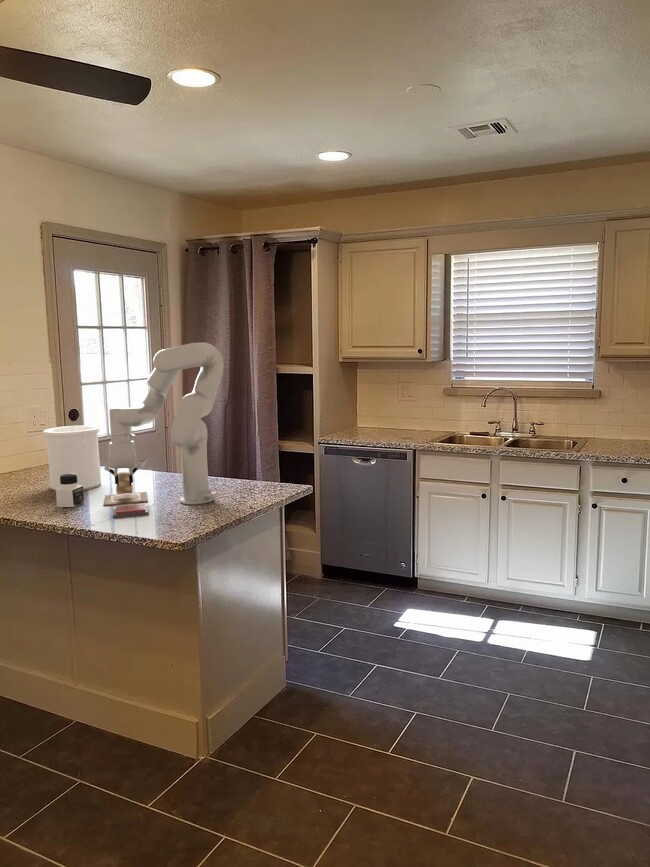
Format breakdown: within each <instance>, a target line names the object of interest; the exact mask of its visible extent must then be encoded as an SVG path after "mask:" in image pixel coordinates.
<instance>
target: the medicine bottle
mask: <svg viewBox="0 0 650 867" xmlns="http://www.w3.org/2000/svg"><path fill="white" fill-rule="evenodd" d="M60 484H61V486H62V487H60V488H57V489H56V491H55V496H56V507H57V508H63V507H75V508H76V506H77V507H78V505H79V506H81V505H84V504H85V497H84V490H83V486H82V485H77V484H78V482H77V475H76V474H63V475H61V476H60ZM80 504H81V505H80Z"/></svg>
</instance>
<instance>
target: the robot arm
mask: <svg viewBox="0 0 650 867" xmlns="http://www.w3.org/2000/svg"><path fill="white" fill-rule="evenodd" d="M153 367H154V369H153V370H152V372H151V373H150V375H149V377H148V378H147V381H146V382H147V385H148V387H149V390H148V393H147V395H146V397H145V398H144V400H143V402H142V403H141V404H140V405H136V406H133V407H132V406H131V407H129V406H123V405H118V406H112V407H110V408H109V412H108V413H109V425H110V442H109V444H108V461H107V463H106V464H105V466H104V470H105V471H107V472H109V474H111V475H112V476H114V484H115V485H116V484H117V487H118V486H119V481H118V471H119V469H128V472H129V482H130V486H131V483H132V484H133V483H134V476H133V475H134V474H135V473H136V472H137V471H138V470H139V469H141V468H142V466H143V465H142V464H141V462H140V461H139V460H138V459H137V451H136V450H137V449H136V445H135V442H134V440H133V439H136V434H132V428H136V427H140V426H145V425H147V424H150V423H152V422H153V421H154V420H155V419H156V418H157V416H158V414H159V413H160V411H161V410H162V408H163V407H164V404H165V403H166V399H167V397H168V396H167V394H168V391H169V390H170V388H171V387H172V385H173V384H174V382H175V381H176V379H177V378H178V376H179V374H180V373H181V371H182V370H186V369H191V368H197V367H200V370H199V373H198V375H197V377H196V379H195V383H194V386H193V389H192V391H191V393H187V394H185V395H184V396H183V397H182V398H181V400H179V403H178V405H177V409H176V411H175V415H174V418H173V421H172V424H171V428H170V433H169V434H170V440H171V442H172V443H173V444H174V445H175V447H178V448H181V450H180V451H181V452H180V454H181V455H180V457H181V460H180V461H181V474H182V475H181V477H182V478H181V479H182V492H183V496H182V497H180V498H179V503H181V504H183V505H203V504H207V503H210V502H212V501H214V500H215V499H216V497H217V495H218V494H217V492H212V488H211V487H210V488H209V472H208V470H209V469H208V446H207V444H208V428H207V425H206V423H205V422H204V421H203V420H202V418H204V417H206V416H208V415H209V414H210V413H211V412H212V410H213V406H214V403H215V400H216V396H217V393H218V391H219V386H220V383H221V380H222V377H223V373H224V360H223V356H222V354H221V352H220V351H219V350H218V348H217V347H215V346H214V345H213V344H211V343H209V342H192V343H187V344H183V345H177V346H173V347H169V348H164V349H160V350H159V351H157V352H156V353H155V355H154V357H153Z"/></svg>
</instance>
